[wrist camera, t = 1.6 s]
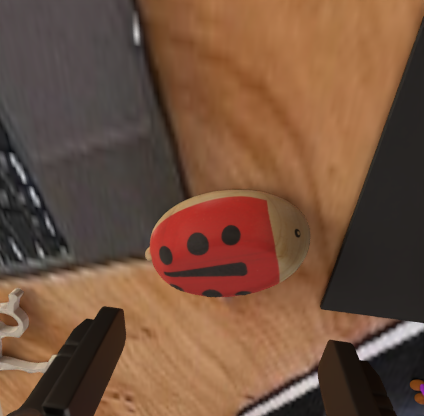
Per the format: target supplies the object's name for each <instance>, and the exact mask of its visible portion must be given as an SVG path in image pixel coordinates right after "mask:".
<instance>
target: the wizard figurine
mask: <svg viewBox="0 0 424 416" xmlns="http://www.w3.org/2000/svg"><path fill="white" fill-rule="evenodd" d="M410 387H411V388H412V389H414V390H416V391H421V392H422V393H417V394H416V395H415V397H414V398H415V400H416V402H418V403H420V404H424V381H422V380H419V379H415V380H412V381H411V382H410Z"/></svg>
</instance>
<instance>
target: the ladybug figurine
mask: <svg viewBox="0 0 424 416" xmlns="http://www.w3.org/2000/svg"><path fill="white" fill-rule="evenodd" d="M309 244H310V228H309V225H308V222H307V220H306V218H305V216H304V215H303V214H302V212H301V211H300V210H299V209H298V208H297V207H295V206H294V205H293V204H291V203H290V202H288V201H286V200H284V199H282V198H280V197H278V196H275V195H272V194H269V193H265V192H261V191H254V190H223V191H215V192H210V193H206V194H202V195H198V196H195V197H193V198H190V199H188V200H185V201H183V202H181V203H179V204H178V205H176V206H174V207H173V208H171V209H170V210H169V211H168V212H166V213H165V214H164V215H163V216H162V217H161V219H160V220H159V221H158V222H157V224H156V225H155V227H154V229H153V232H152V235H151V239H150V247H149V248H148V249H147V250H146V252H145V257H146V259H147V260H148V261H152V262H153V265H154V267H155V269H156V271H157V272H158V274H159V275H160V276H161V278H162V279H163V280H164V281H166V282H167V283H168V284H170V285H171V286H172V287H174V288H176V289H178V290H180V291H184V292H187V293H191V294H195V295H201V296H207V297H231V296H238V295H247V294H251V293H255V292H258V291H261V290H264V289H267V288H270V287H272V286H274V285H276V284H278V283H280V282H282V281H284V280H285V279H287V278H288V277H290V276H291V275H292V274H293V273H294V272H295V271H296V270H297V269H298V268H299V266H300V265H301V264H302V262H303V261H304V259H305V257H306V255H307V252H308V249H309Z"/></svg>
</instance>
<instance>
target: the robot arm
mask: <svg viewBox="0 0 424 416" xmlns="http://www.w3.org/2000/svg"><path fill="white" fill-rule="evenodd" d="M125 340H126V329H125V320H124V311H123V309H119V308H113V307H106V306H104V307H102V308H101V309H100V311H99V312H98V314H97V316H96V317H95V319H94V320H92V319H86V320H84V321H83V322H82V323H81V324H80V325H78V326H77V327H76V328H75V329H74V330H73V331H72V333H71V334H70V336H69V337H68V339H67V340H66V342H65V345H63V346H62V348H61V349H60V351H59V352H58V355H57V356H56V357H55V358H54V360H53V361H52V363H51V364H50V366H49V367H48V369H47V370H46V372H45V373H44V375H43V376H42V378H41V379H40V381H39V382H38V384H37V385H36V387H35V388H34V390H33V391H32V393H31V394H30V396H29V397H28V399H27V400H26V401H25V403H24V404H23V405H22V406H21V407H20V408H19V409H18V410H16V411H14V412H12V413H10V414H8V415H7V416H94V414H95V412H96V409H97V407H98V405H99V403H100V400H101V398H102V396H103V394H104V391H105V389H106V387H107V385H108V382H109V380H110V378H111V376H112V373H113V371H114V369H115V367H116V364H117V362H118V360H119V358H120V355H121V353H122V351H123V348H124V345H125ZM318 380H319V385H320V389H321V394H322V398H323V402H324V407H325V411H326V415H327V416H397V415H396V413H395V411H393V406H392V404H391V402H390V399H389V397H387V393H386V390H385V388H384V386H383V383H382V381H381V379H380V377H379V375H378V374H377V373H376V372H375V370H374V369H373V368H372V367H371V365H370V364H369V363H368V362H367V361H362V360H359V358H358V355H357V353H356V350H355V348H354V346H353V344H351V343H348V342H342V341H335V340H329V341H328V343H327V345H326V348H325V350H324V353H323V355H322V358H321V360H320V363H319V366H318Z"/></svg>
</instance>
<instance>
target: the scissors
mask: <svg viewBox="0 0 424 416" xmlns="http://www.w3.org/2000/svg"><path fill="white" fill-rule="evenodd" d="M23 292H24V291H22V290H21V289H19V288H16V289H14V290H13V291H12V292H11V293H10V294H9V295H8V296H9V303H8V302H6V303H0V313H5V314H8V315H11V316H12V317H13V318H14V319H15V320H16V321H17V322H18V324H19V325H18V326H15V327H13V326H8V325H6V324H5V323H3V322H2V321H1V320H0V370H14V369H18V370H23V371H26V372H28V373H35V372H42V373H45V372H46V370H47V369H48V367H49V366H50V364H51V363H52V361H53V360H54V358H55V357H56V356H57V355H52V357H51V358H50V360H49V361H48V362H42V363H33V362H28V361H23V360H19V359H16V358H13V357H8V356H2V338H4V337H6V336H10V337H18V338H19V337H20V336H21V335H22V334H23V333H24V331H25V330H26V329H27V328H28V326H29V319H28V315H27V314H26V312H25V311H24V310H22V309H21V308H20V307H19V302H20V297H21V296H22V294H23Z"/></svg>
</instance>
